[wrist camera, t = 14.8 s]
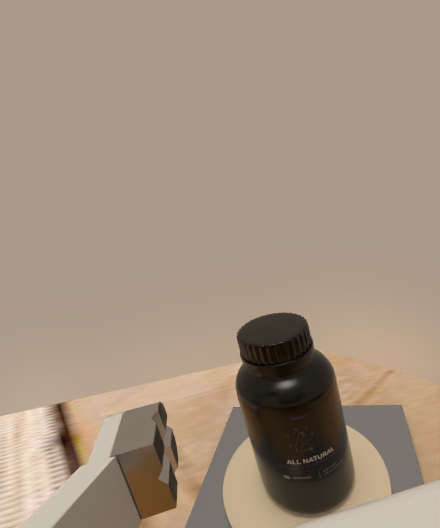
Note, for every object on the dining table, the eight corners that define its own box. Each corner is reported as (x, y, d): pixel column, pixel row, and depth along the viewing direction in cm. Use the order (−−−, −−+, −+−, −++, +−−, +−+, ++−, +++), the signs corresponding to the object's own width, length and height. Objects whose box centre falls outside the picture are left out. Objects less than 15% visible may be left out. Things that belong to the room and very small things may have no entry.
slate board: (166, 602, 20) (157, 581, 20) (236, 416, 34) (231, 402, 34) (477, 682, 14) (472, 654, 14) (403, 416, 28) (400, 399, 28)
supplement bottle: (323, 543, 19) (275, 368, 17) (244, 483, 24) (199, 343, 22) (375, 461, 23) (342, 310, 21) (297, 425, 28) (264, 301, 26)
